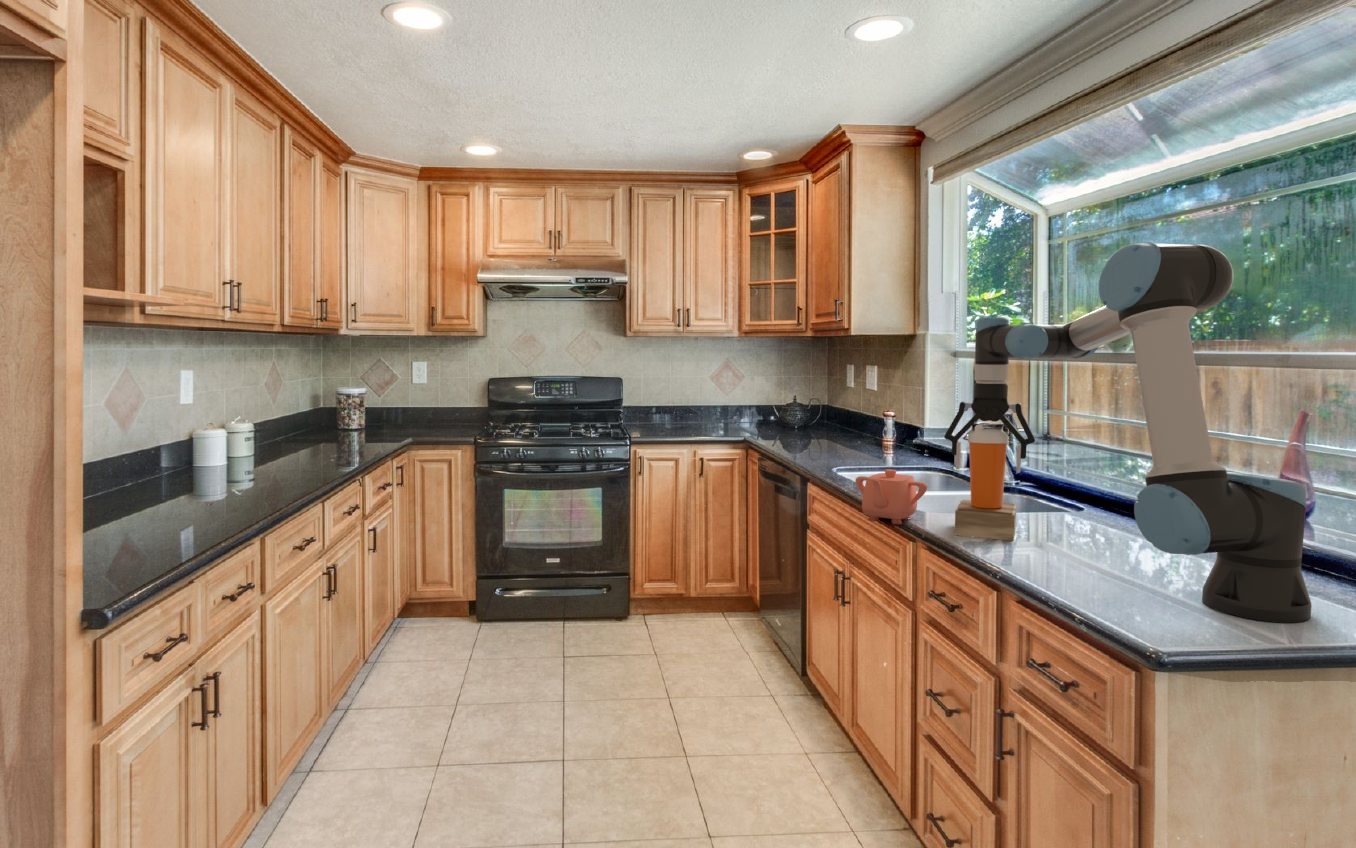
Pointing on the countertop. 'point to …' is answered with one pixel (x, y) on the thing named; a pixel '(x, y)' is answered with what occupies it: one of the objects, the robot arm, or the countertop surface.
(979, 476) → the shaker bottle
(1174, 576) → the countertop surface
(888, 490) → the teapot
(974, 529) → the block
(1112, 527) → the countertop surface
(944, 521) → the countertop surface
